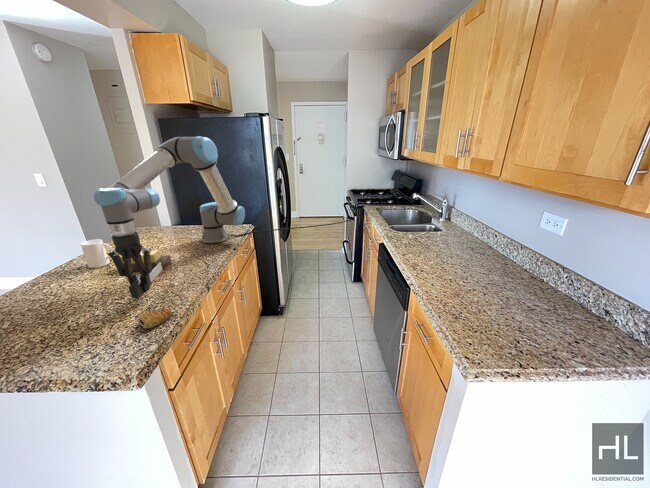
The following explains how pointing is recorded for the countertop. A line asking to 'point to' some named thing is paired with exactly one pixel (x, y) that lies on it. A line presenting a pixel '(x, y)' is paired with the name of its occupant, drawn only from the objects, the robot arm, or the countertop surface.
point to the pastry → (154, 318)
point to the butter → (132, 259)
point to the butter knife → (136, 286)
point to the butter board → (163, 260)
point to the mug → (95, 253)
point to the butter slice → (154, 255)
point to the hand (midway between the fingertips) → (142, 290)
